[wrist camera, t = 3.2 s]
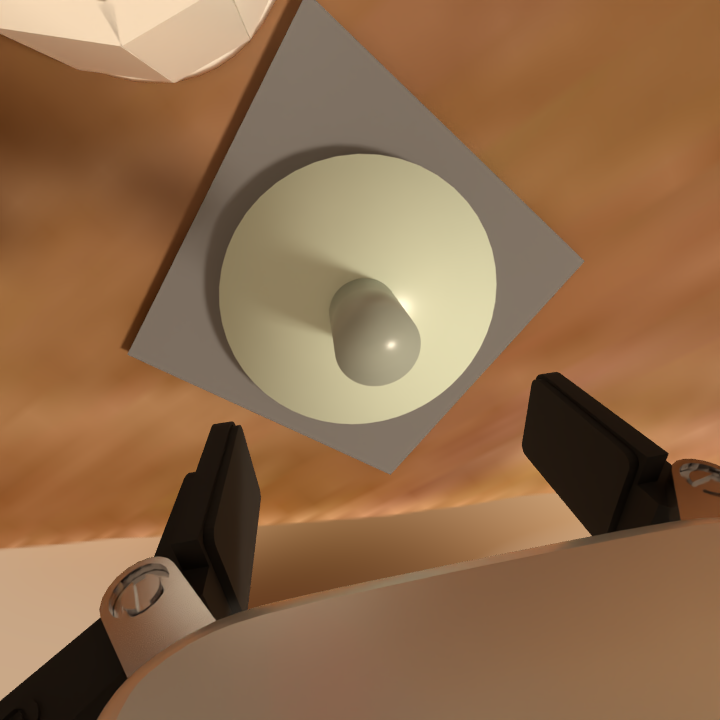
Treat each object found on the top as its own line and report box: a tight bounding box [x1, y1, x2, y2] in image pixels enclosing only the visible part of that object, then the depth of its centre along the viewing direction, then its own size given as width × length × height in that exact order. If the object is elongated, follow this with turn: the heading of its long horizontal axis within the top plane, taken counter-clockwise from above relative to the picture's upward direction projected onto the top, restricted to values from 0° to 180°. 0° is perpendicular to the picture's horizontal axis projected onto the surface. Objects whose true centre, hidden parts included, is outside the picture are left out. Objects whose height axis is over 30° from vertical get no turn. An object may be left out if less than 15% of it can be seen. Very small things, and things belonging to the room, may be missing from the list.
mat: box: [127, 0, 584, 475], centre depth 22 cm, size 20×20×1 cm
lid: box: [219, 154, 497, 424], centre depth 19 cm, size 16×16×6 cm
